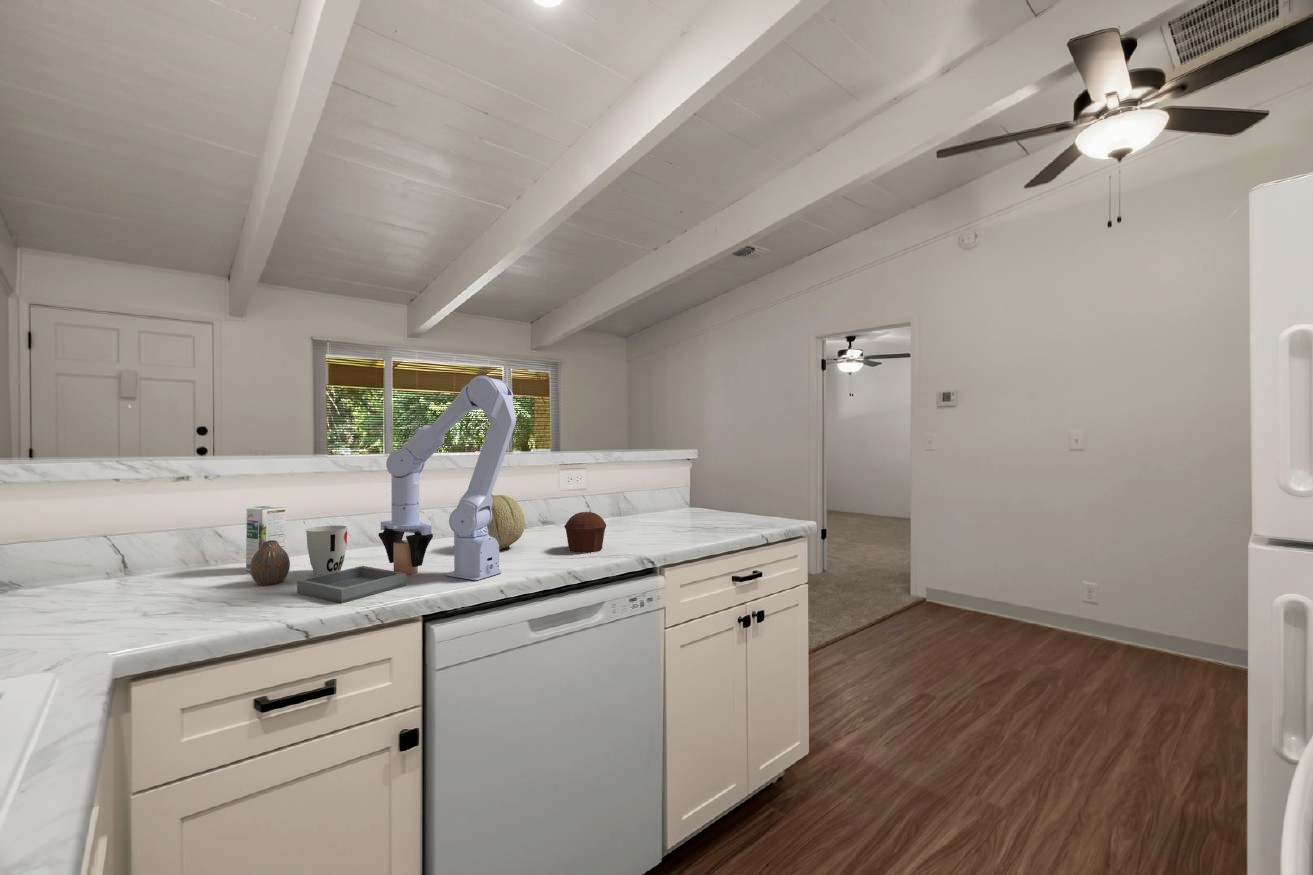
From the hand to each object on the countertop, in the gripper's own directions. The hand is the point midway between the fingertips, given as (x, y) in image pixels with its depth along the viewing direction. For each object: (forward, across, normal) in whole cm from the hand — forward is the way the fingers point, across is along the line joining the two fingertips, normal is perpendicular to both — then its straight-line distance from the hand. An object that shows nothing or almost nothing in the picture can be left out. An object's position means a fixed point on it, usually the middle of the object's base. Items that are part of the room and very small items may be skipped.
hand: (405, 564), depth 128 cm
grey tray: (+2, +2, -14) cm, 14 cm away
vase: (+2, -18, -19) cm, 26 cm away
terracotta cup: (+2, 0, 0) cm, 2 cm away
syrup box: (+2, -31, -13) cm, 34 cm away
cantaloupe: (+2, -1, +30) cm, 30 cm away
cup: (+2, -16, -8) cm, 18 cm away
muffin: (+2, +21, +40) cm, 45 cm away
